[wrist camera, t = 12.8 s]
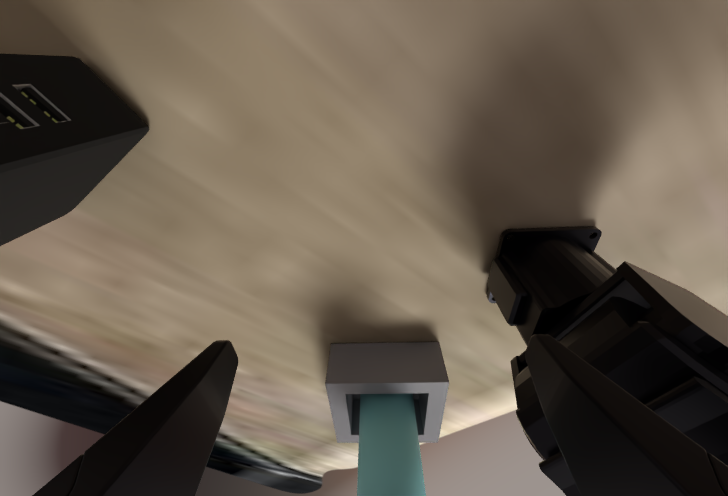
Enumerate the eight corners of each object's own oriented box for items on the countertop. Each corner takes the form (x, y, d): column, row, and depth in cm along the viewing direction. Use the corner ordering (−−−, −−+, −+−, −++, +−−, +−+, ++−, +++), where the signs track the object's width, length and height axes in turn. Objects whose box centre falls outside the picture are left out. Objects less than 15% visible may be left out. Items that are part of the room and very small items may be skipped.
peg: (417, 363, 27) (449, 563, 16) (410, 396, 30) (432, 585, 19) (358, 360, 27) (350, 560, 16) (357, 394, 30) (349, 581, 19)
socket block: (438, 341, 26) (449, 382, 23) (430, 402, 32) (438, 442, 28) (331, 343, 27) (325, 383, 23) (340, 403, 32) (337, 442, 29)
